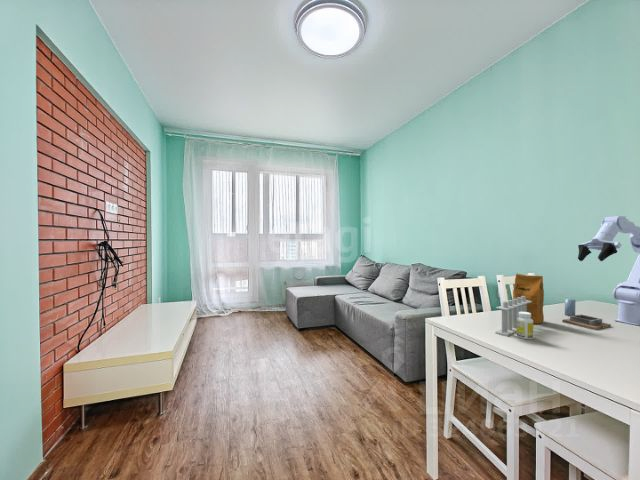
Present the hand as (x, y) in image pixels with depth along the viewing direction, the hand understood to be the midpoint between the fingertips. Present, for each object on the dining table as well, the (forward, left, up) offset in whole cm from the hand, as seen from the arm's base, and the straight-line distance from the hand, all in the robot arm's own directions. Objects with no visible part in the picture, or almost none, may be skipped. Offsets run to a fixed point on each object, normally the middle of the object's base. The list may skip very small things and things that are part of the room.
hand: (589, 259), depth 121 cm
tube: (-16, -15, -30) cm, 37 cm away
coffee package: (+12, -18, -30) cm, 37 cm away
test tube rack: (+30, -12, -30) cm, 44 cm away
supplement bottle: (+36, -4, -30) cm, 47 cm away
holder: (-6, -4, -30) cm, 31 cm away
